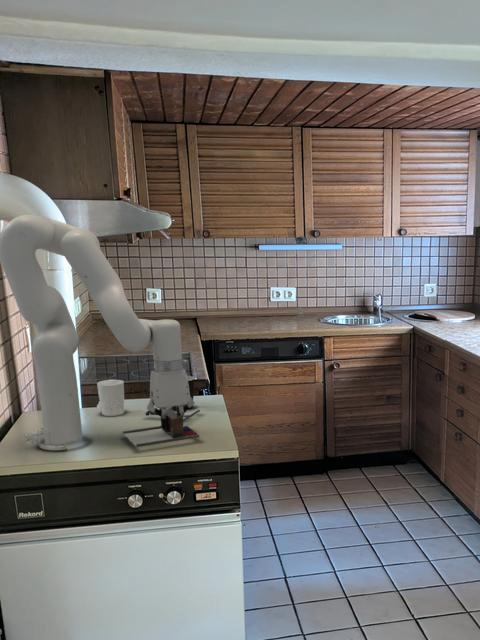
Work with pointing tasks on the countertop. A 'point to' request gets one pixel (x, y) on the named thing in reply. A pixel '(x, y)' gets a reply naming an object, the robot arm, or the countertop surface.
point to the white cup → (111, 397)
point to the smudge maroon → (189, 433)
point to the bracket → (183, 416)
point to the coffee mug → (191, 390)
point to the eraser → (174, 424)
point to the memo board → (152, 436)
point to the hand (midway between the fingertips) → (172, 429)
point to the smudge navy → (186, 428)
